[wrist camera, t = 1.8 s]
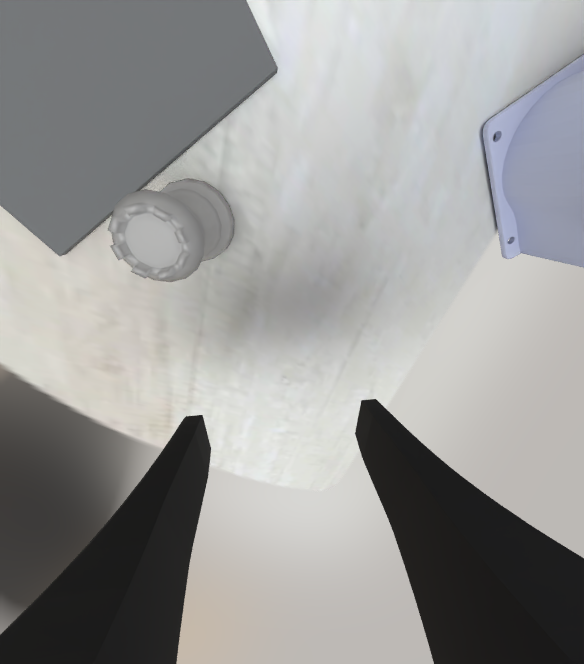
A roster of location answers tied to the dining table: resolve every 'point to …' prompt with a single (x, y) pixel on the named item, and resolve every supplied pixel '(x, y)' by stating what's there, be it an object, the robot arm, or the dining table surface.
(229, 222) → the rook chess piece
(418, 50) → the dining table surface
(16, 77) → the mat
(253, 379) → the dining table surface
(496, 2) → the dining table surface
